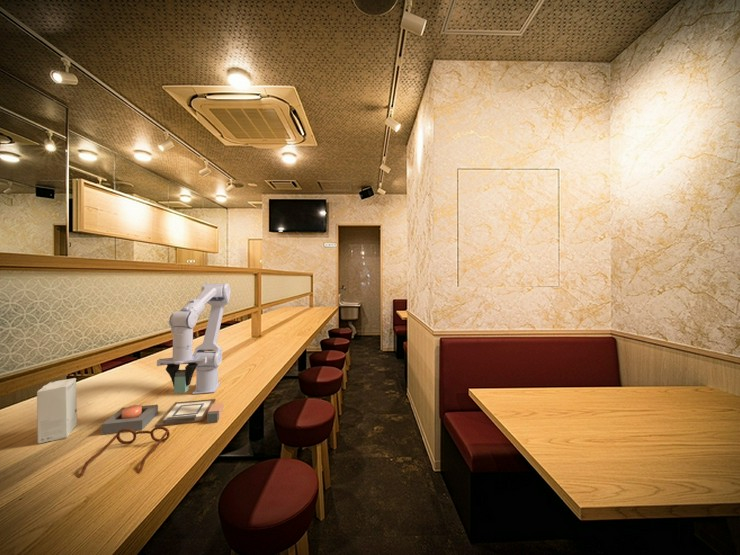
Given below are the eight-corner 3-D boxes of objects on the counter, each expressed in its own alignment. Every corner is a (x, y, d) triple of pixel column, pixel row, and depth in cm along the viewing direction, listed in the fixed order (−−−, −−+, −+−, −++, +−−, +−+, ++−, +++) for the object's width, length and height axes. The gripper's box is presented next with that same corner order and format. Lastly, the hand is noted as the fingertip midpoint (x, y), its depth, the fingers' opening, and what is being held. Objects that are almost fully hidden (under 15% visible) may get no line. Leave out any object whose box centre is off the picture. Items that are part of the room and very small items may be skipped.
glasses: (170, 441, 78) (170, 424, 78) (139, 475, 65) (140, 454, 65) (118, 444, 76) (118, 427, 76) (76, 480, 63) (76, 458, 63)
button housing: (122, 416, 89) (122, 407, 89) (157, 413, 92) (158, 404, 92) (101, 434, 80) (101, 424, 80) (142, 430, 82) (142, 420, 82)
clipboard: (175, 404, 99) (175, 399, 99) (215, 400, 102) (215, 396, 102) (155, 426, 84) (155, 421, 84) (202, 421, 88) (202, 416, 88)
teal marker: (178, 389, 95) (178, 369, 95) (188, 388, 96) (188, 369, 96) (174, 393, 92) (174, 373, 92) (185, 392, 93) (185, 372, 93)
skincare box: (67, 438, 77) (67, 386, 77) (35, 445, 74) (35, 391, 74) (77, 424, 84) (78, 376, 84) (48, 429, 81) (49, 380, 81)
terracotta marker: (212, 412, 94) (212, 403, 94) (222, 411, 95) (223, 402, 94) (206, 423, 87) (206, 413, 87) (217, 422, 88) (217, 412, 88)
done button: (127, 415, 87) (127, 405, 87) (144, 413, 89) (144, 404, 89) (117, 423, 83) (118, 413, 83) (136, 421, 84) (136, 411, 84)
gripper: (152, 350, 88) (151, 391, 88) (202, 348, 92) (201, 388, 92) (162, 344, 95) (162, 382, 95) (209, 342, 99) (208, 380, 99)
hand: (182, 384), depth 94 cm, fingers closed on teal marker, 3 cm apart
